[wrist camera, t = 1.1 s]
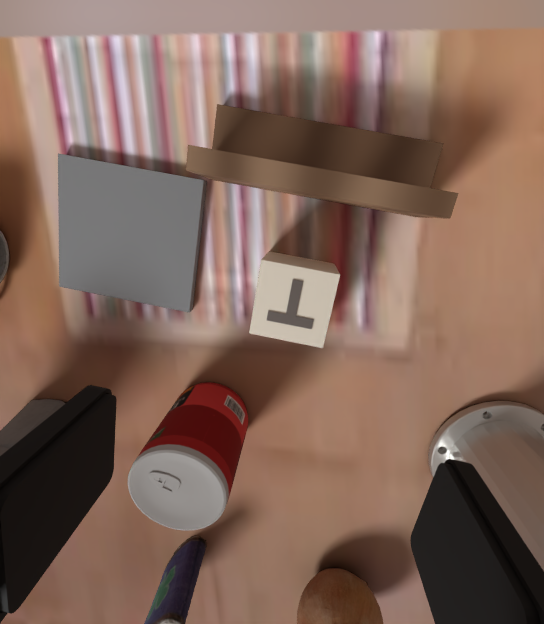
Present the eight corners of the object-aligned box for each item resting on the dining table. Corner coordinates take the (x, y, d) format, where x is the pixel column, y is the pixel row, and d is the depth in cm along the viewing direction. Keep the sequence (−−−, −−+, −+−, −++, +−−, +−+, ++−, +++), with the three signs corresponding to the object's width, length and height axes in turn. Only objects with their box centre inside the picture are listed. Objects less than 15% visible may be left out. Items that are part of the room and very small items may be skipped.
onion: (327, 534, 44) (334, 581, 34) (389, 589, 42) (415, 655, 32) (282, 598, 43) (275, 664, 33) (343, 657, 41) (355, 745, 31)
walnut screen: (437, 146, 27) (480, 124, 21) (416, 217, 29) (450, 218, 22) (220, 108, 28) (194, 76, 21) (212, 179, 30) (185, 170, 23)
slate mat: (206, 181, 30) (203, 180, 29) (192, 309, 33) (189, 312, 32) (65, 155, 30) (58, 153, 29) (66, 284, 34) (59, 286, 33)
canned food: (182, 372, 36) (130, 439, 25) (256, 389, 35) (235, 465, 25) (173, 432, 38) (122, 517, 27) (243, 449, 38) (218, 542, 27)
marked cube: (334, 263, 31) (340, 275, 25) (319, 324, 33) (322, 348, 27) (269, 251, 31) (261, 259, 25) (258, 312, 33) (248, 333, 27)
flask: (177, 584, 44) (138, 695, 34) (157, 573, 44) (113, 681, 34) (212, 542, 42) (181, 648, 32) (191, 530, 42) (154, 633, 31)
